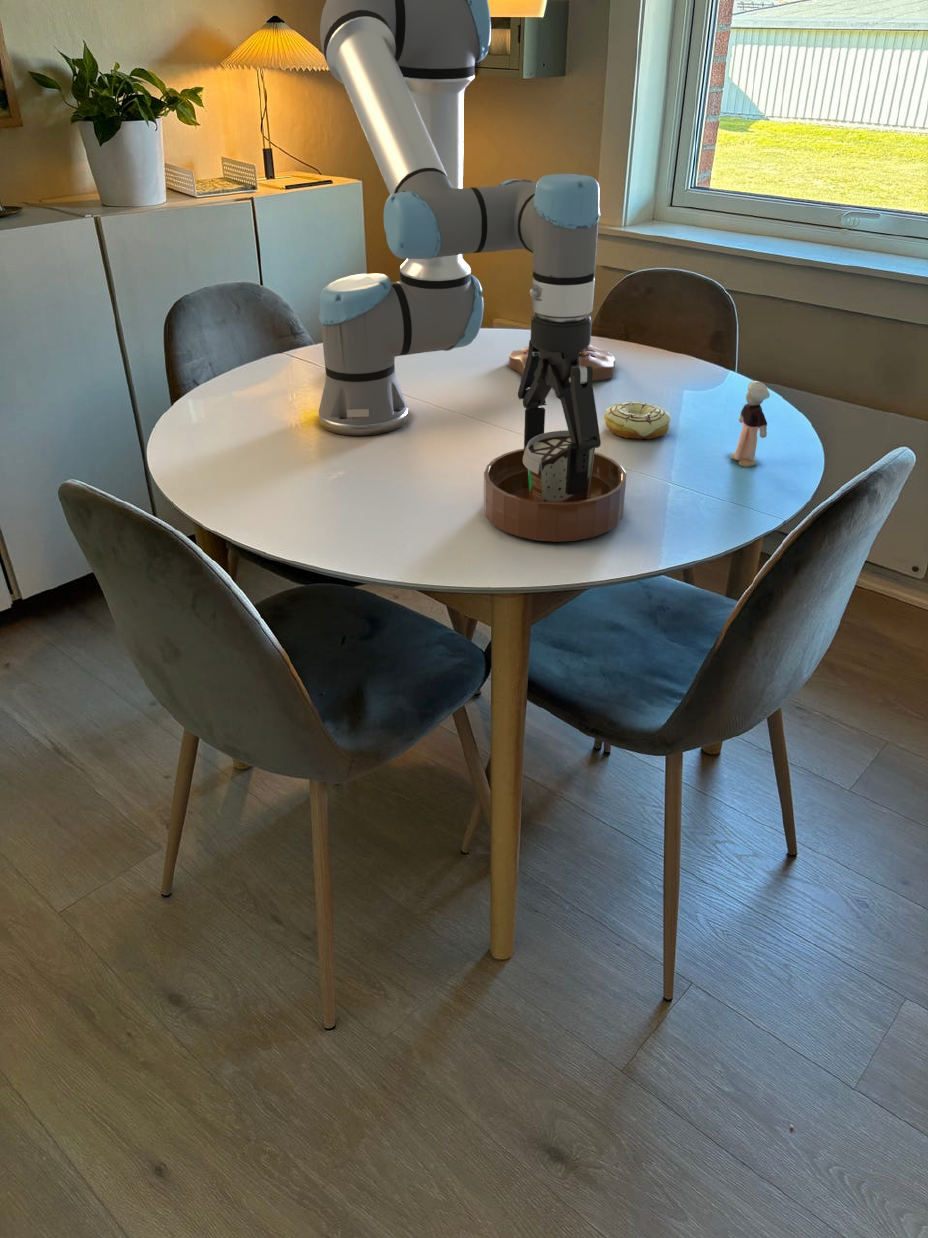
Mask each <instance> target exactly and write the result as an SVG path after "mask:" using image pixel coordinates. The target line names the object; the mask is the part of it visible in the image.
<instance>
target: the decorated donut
mask: <svg viewBox="0 0 928 1238" xmlns="http://www.w3.org/2000/svg"><path fill="white" fill-rule="evenodd" d="M603 420H604V422H605V426H606V427H607V429H608V430H609V431H610V432H611V433H613V434H614V435H617V436H618V437H621V438H622V437H623V438H624V439H639V440H644V439H646V440H651V439H655V438H659V437H660V436H664V435H666V434H667V433H668V431H669V428H670V421H671V415H670V414H669V412H667V410H665V409H664V408H663V407H662V406H659V405H656V404H651V403H648V402H643V401H623V402H617V403H615V404H612V405H610V407H608V408H607V409H606V410H605V412H604V416H603Z"/></svg>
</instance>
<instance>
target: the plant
mask: <svg viewBox="0 0 928 1238" xmlns="http://www.w3.org/2000/svg"><path fill="white" fill-rule="evenodd" d="M528 351H529V346H525V347H523V348H522V349H519V350H513V351H511V352H510V353H509V356H508V358H509V360H508V366H509V367H510V368H511V369H512V370H514V371H516V372H517V373H519V374H520V375H521V376H522V375H523V372H524V368H525V364H526V361H527V357H528ZM579 359H580V366H582V367H583V366H592V369H593V383H594V382H599V381H605V380H610V379H613V376H614V372H615V369H616V368H615V367H616V359H615V357H614V356H613V355H612V354H611V353H610V352H609V351H607V350H605V349H600V348H598V347H596V346H594V345H592V344H589V346H588V347H587V348H585V349H583V350H582V351H581V352H580V354H579Z"/></svg>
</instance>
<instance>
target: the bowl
mask: <svg viewBox="0 0 928 1238" xmlns="http://www.w3.org/2000/svg"><path fill="white" fill-rule="evenodd" d="M523 455H524V448H519V449H516V450H512V451H509V452H505V453H502V454H501V455H499V456H497V457H495V458H493V459H492V460H490V462H489V463H488V464H487V465H486V466H485V469H484V472H483V510H484V515H485V517H486V519H488V521H489V522H490V523H491V524H492V525H493V526H495V527H497V528H498V529H500V530H502V531H503V532H505V533H508V534H510V535H513V536H516V537H518V538H524V539H528V540H534V541H541V542H553V543H555V542H557V543H558V542H559V543H560V542H575V541H580V540H585V539H589V538H590V539H591V538H594V537H597V536H600V535H603V534H605V533H608V532H609V531H611V530H612V529H614V528H615V527H617V526H618V525H619V524H620V522H621V520H623V518H624V510H625V509H624V508H625V498H626V485H627V472H626V471H625V469H624V467H623V466H622V465H621V464H620V463H619V462H617V461H616V460H615V459H613V458H611V457H609V456H607V455H605V454H602V453H599V452H596V451H595V454H594V461H593V468H592V476H591V483H590V491H589V498H588V499H587V500H582V501H576V502H543V501H535V500H530V494H529V478H528V468H527V467H525V465H524V464H523Z"/></svg>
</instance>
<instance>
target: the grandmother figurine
mask: <svg viewBox="0 0 928 1238" xmlns="http://www.w3.org/2000/svg"><path fill="white" fill-rule="evenodd" d="M745 395H746V396H745V400H746V404H744V405H743V407H742V409H741V411H740V415H739V419H738V421H739V423H741V424H742V427H741V428H742V429H741V432H740V435H739V439H738V441H737V445H736V448H735V452H733V453H732V454H731V455H730V458H731V459H732V460H734V461H738V464H739V465H740V466H741V467H745V468H748V467H754V466H756V465H757V464H758V463H757V460H755V456H756V451H757V444H758V431H759V437H760V438H761V439H764V438H766V437H767V430H768V429H767V426H768V422H767V419H766V416H765V414H764V412H763V408H762V403H763V402H764V401H765V400H767V399H769V398H770V395H771V394H770V391H769V390H768V387H767V386H766V384H765V383H763V382H761V381H757V380H752V381H751V382H749V383H748V385H747V392H746V394H745Z"/></svg>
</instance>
